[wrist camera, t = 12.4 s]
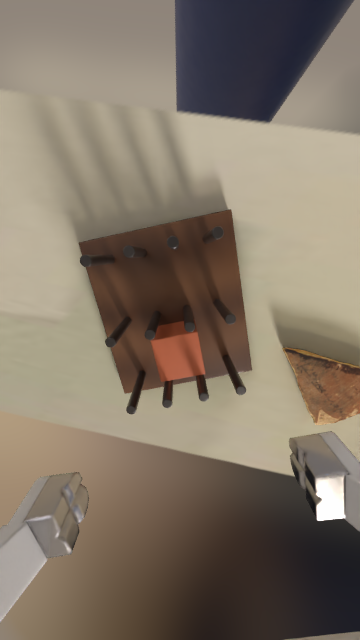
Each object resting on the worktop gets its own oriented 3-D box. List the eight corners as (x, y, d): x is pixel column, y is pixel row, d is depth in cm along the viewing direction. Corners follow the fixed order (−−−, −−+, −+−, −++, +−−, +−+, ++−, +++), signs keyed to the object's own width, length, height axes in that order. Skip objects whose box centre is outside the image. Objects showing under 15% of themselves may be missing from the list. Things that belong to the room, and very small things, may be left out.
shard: (278, 343, 25) (285, 350, 23) (348, 313, 24) (362, 317, 22) (308, 419, 27) (317, 431, 25) (372, 395, 26) (386, 405, 25)
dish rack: (82, 243, 22) (39, 237, 15) (228, 211, 21) (252, 190, 14) (126, 388, 26) (108, 435, 19) (249, 366, 25) (274, 406, 19)
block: (155, 326, 23) (150, 340, 19) (194, 318, 23) (197, 331, 19) (163, 362, 24) (160, 382, 20) (201, 354, 24) (205, 374, 20)
